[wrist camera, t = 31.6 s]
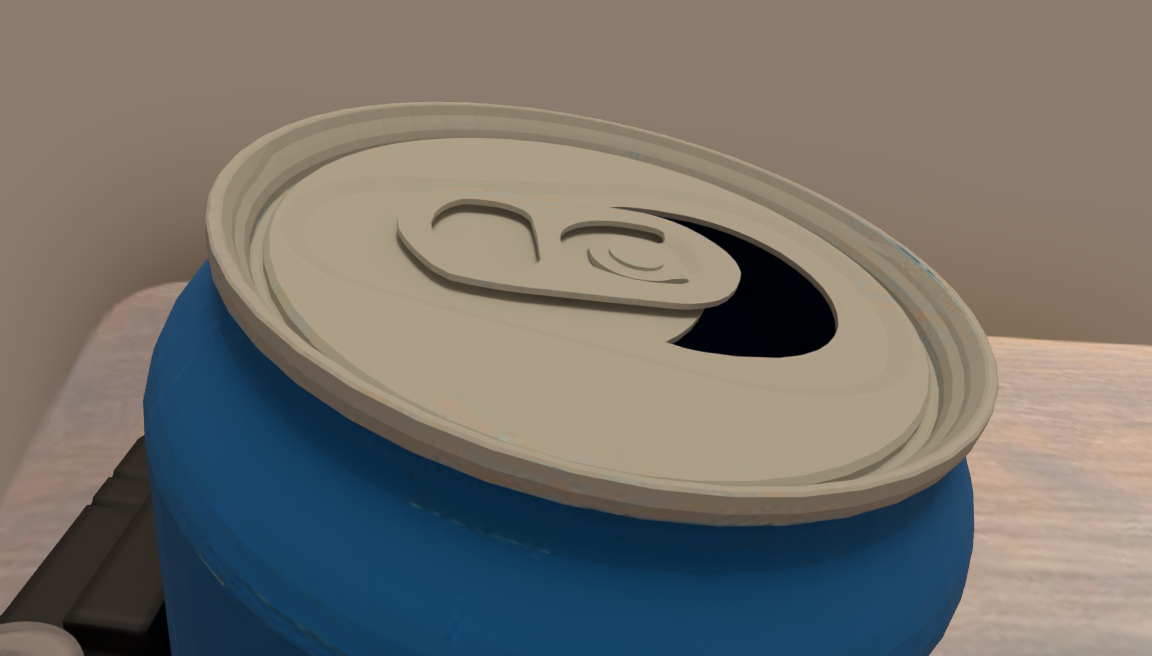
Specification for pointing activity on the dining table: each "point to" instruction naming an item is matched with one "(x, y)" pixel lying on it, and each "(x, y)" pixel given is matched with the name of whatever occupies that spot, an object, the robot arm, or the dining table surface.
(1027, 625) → the dining table surface
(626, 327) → the beverage can
